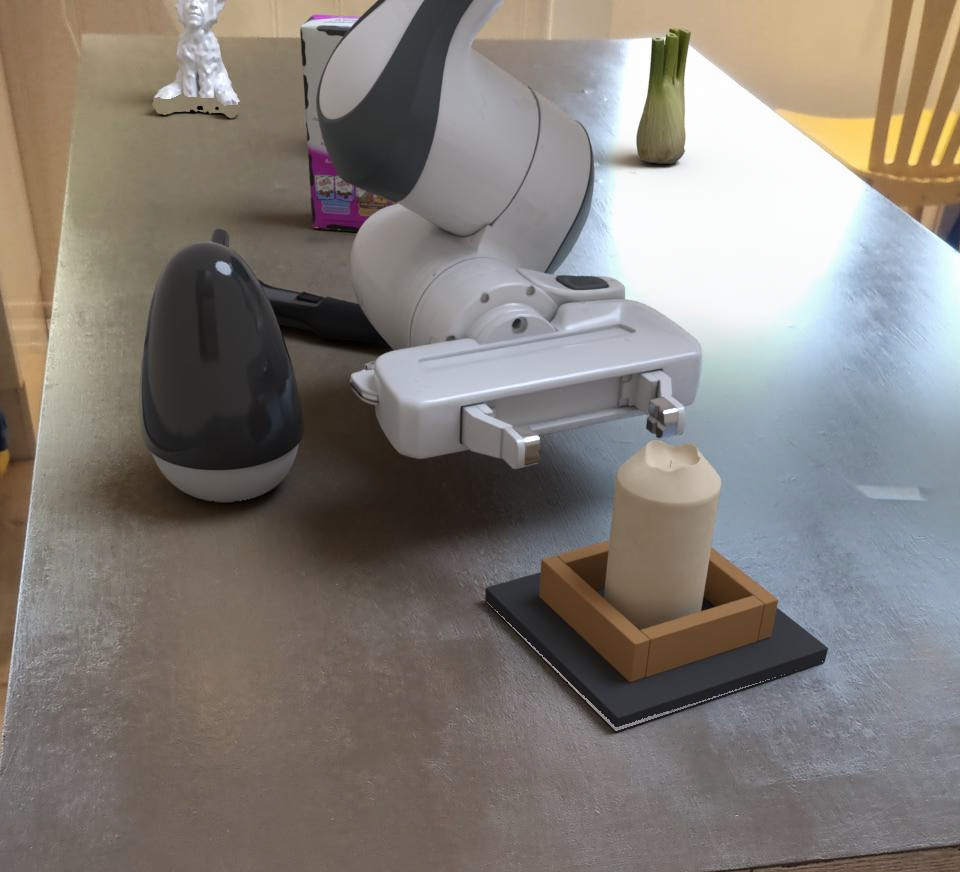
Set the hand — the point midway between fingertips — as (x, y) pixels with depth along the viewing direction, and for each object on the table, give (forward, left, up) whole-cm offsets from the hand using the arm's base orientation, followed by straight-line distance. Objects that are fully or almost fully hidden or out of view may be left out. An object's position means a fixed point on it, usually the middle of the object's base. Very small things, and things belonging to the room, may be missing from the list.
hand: (603, 439), depth 77 cm
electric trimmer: (0, -40, -9) cm, 41 cm away
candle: (0, +7, -8) cm, 10 cm away
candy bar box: (-15, -60, -9) cm, 63 cm away
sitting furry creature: (-14, -102, -9) cm, 103 cm away
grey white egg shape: (+15, -20, -9) cm, 27 cm away
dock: (0, +7, -9) cm, 11 cm away
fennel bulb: (-50, -65, -9) cm, 82 cm away
